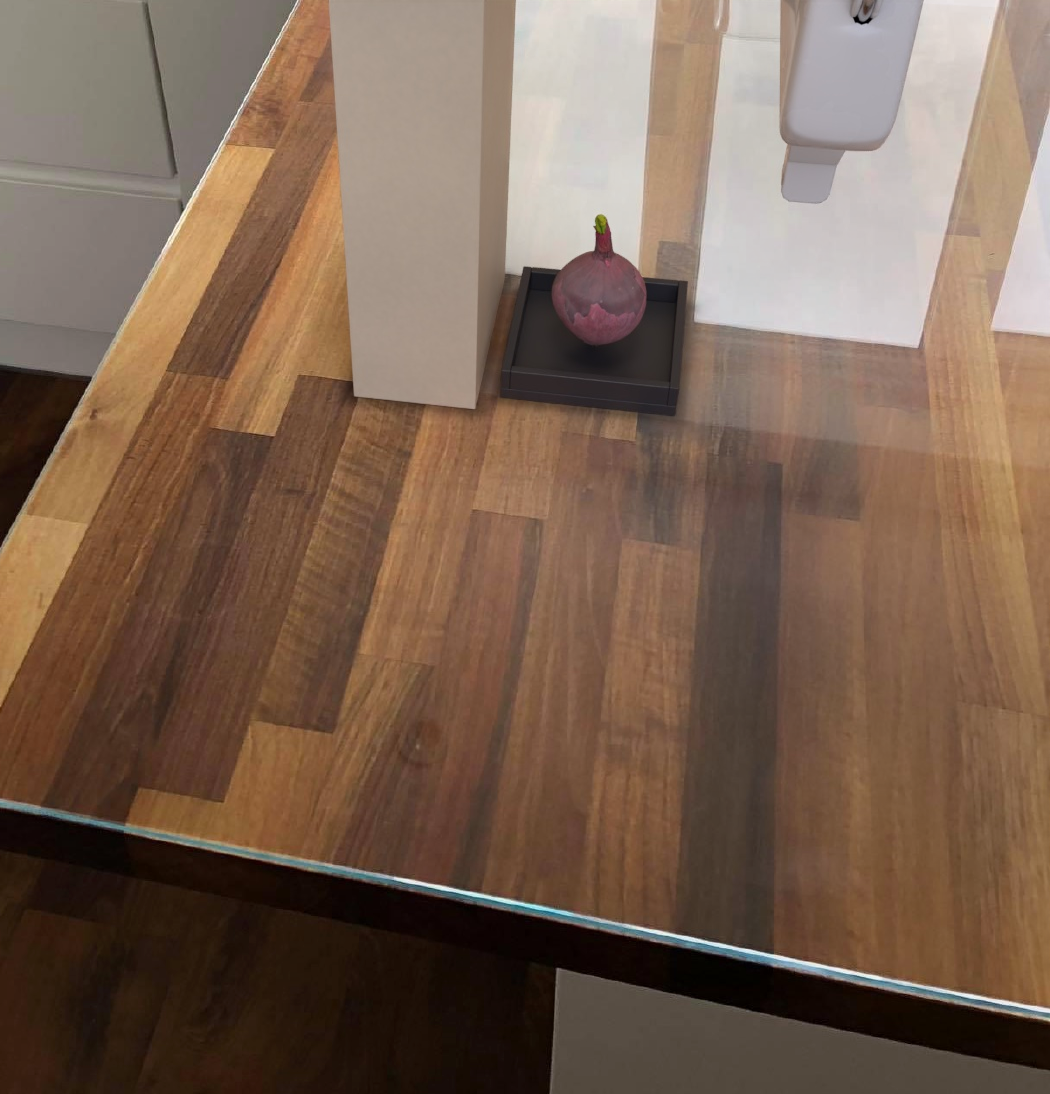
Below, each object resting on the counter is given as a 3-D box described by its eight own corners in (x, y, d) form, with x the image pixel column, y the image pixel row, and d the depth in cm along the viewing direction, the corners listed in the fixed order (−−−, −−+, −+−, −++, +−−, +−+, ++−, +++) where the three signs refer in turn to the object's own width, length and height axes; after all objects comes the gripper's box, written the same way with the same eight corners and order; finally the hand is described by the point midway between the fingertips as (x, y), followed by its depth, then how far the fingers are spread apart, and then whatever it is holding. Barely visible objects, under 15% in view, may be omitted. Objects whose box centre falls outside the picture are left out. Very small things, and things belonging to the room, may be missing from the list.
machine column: (512, 275, 98) (532, -172, 76) (481, 415, 88) (494, -51, 66) (388, 263, 99) (372, -178, 77) (344, 400, 89) (311, -61, 67)
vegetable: (584, 302, 94) (595, 175, 87) (660, 338, 91) (678, 210, 84) (530, 346, 91) (537, 218, 84) (606, 385, 88) (621, 256, 81)
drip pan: (683, 307, 95) (688, 280, 93) (674, 416, 87) (679, 388, 86) (521, 292, 97) (523, 265, 95) (499, 397, 89) (501, 370, 88)
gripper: (1014, -111, 39) (895, 289, 49) (956, -335, 52) (872, 15, 62) (784, -122, 40) (714, 272, 50) (785, -339, 53) (730, 7, 63)
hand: (802, 127), depth 56 cm, fingers open, 8 cm apart
